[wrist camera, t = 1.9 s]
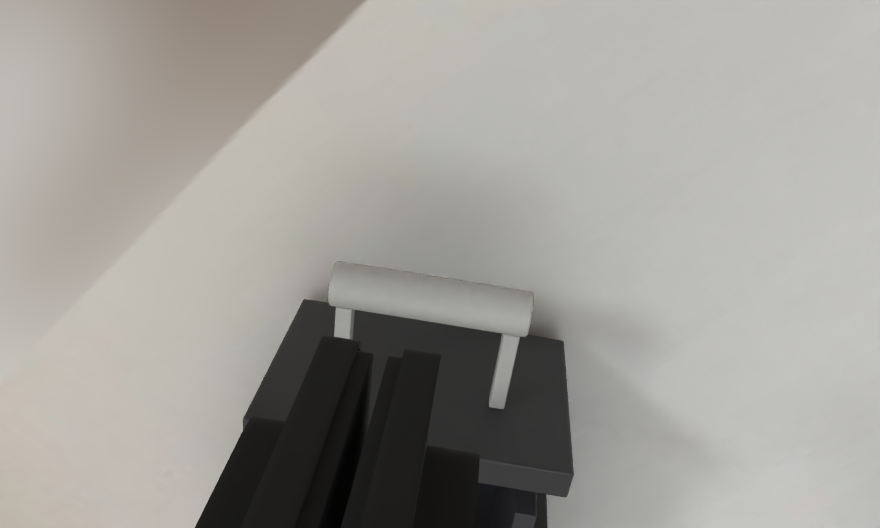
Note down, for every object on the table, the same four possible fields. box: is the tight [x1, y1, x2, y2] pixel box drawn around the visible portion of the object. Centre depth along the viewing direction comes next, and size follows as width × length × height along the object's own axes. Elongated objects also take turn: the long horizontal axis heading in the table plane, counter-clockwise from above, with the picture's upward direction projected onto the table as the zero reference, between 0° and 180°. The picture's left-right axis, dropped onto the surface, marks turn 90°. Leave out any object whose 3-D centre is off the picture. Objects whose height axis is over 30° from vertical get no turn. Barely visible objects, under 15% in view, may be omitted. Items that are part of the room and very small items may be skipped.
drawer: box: [243, 261, 574, 528], centre depth 30 cm, size 19×12×8 cm, turn 173°
